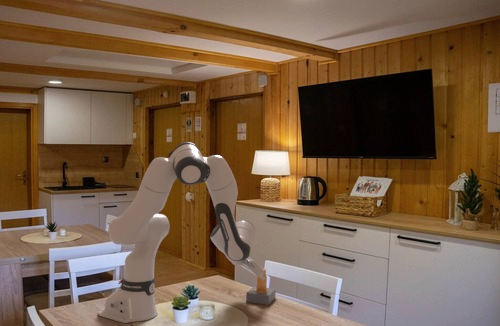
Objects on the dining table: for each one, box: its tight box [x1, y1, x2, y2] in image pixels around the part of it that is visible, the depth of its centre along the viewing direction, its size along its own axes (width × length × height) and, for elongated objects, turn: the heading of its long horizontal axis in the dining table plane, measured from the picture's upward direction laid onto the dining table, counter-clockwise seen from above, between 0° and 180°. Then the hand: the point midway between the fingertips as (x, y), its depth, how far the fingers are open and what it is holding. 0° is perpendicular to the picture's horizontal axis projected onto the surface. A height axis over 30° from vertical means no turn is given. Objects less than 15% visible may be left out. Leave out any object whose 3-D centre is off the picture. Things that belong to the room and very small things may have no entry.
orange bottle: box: [256, 268, 268, 292], centre depth 193 cm, size 4×4×9 cm
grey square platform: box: [245, 285, 277, 306], centre depth 193 cm, size 10×10×4 cm
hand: (259, 275), depth 193 cm, fingers open, 8 cm apart
